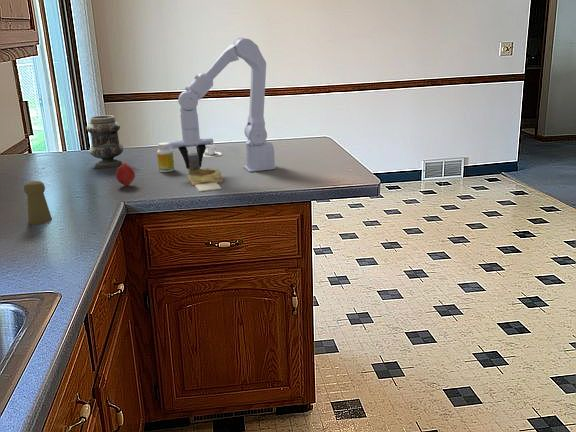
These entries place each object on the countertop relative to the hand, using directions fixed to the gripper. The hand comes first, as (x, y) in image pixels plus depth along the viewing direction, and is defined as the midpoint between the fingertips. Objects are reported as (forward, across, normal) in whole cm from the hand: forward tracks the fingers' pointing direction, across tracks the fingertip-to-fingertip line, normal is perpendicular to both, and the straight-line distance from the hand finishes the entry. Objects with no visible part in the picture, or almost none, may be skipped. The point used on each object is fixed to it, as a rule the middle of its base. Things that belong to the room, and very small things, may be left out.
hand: (193, 167), depth 204 cm
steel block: (+2, 0, 0) cm, 2 cm away
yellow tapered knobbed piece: (+3, +48, +31) cm, 57 cm away
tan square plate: (+2, -2, +9) cm, 10 cm away
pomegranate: (+3, +23, +5) cm, 24 cm away
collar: (+2, -2, +9) cm, 10 cm away
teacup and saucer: (+3, -14, -30) cm, 33 cm away
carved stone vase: (+3, +27, -29) cm, 40 cm away
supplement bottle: (+3, +8, -10) cm, 13 cm away
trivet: (+2, -1, +18) cm, 19 cm away
